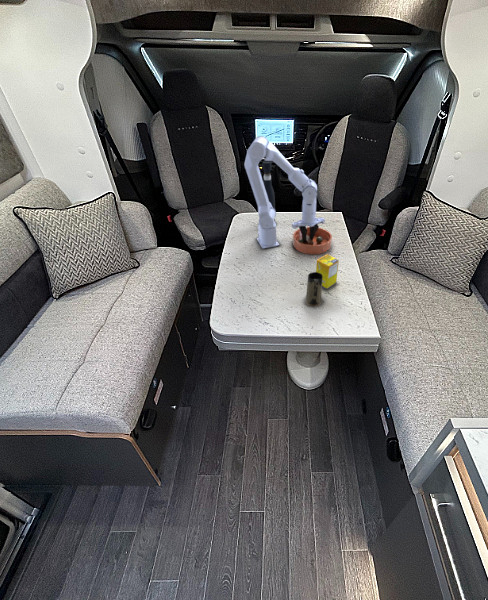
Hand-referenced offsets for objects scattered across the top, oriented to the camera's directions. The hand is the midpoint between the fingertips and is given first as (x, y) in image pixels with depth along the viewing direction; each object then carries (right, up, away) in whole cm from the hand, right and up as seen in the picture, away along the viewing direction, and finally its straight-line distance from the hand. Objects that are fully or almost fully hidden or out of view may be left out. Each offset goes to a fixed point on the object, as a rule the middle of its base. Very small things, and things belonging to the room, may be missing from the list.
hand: (307, 240), depth 152 cm
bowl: (+2, -2, +2) cm, 3 cm away
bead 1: (-3, -2, +1) cm, 4 cm away
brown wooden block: (0, -1, +1) cm, 2 cm away
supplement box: (+6, -21, -21) cm, 30 cm away
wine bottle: (-18, +11, +18) cm, 28 cm away
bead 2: (+6, 0, +3) cm, 6 cm away
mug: (0, -28, -30) cm, 41 cm away
